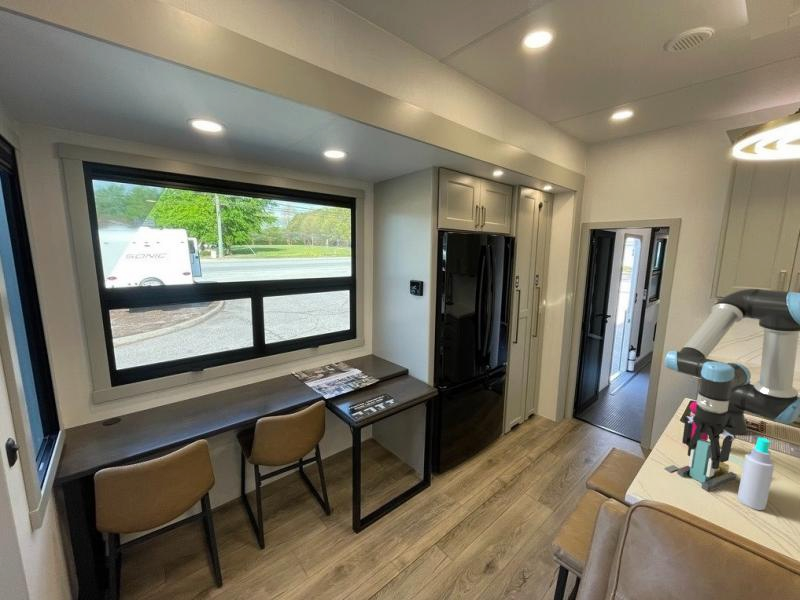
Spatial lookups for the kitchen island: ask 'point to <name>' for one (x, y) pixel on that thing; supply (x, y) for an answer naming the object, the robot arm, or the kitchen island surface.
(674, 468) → the mat
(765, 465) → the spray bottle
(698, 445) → the teal rectangular block
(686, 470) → the channel
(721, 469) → the olive cube
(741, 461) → the pale green l-shape
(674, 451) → the kitchen island surface
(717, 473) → the olive yellow cube
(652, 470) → the kitchen island surface
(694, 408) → the pepper mill
